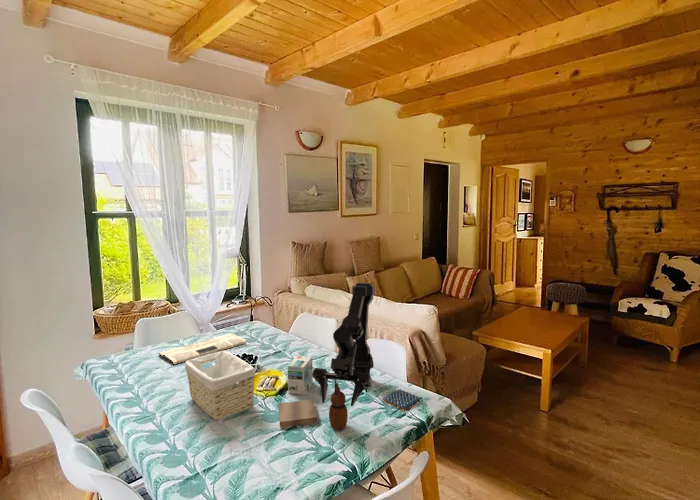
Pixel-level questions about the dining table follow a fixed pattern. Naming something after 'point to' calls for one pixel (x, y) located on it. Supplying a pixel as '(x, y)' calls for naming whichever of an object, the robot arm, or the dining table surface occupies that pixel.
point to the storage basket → (221, 384)
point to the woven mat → (401, 399)
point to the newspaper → (203, 348)
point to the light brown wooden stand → (297, 413)
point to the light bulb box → (300, 375)
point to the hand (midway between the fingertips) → (337, 404)
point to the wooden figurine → (338, 410)
